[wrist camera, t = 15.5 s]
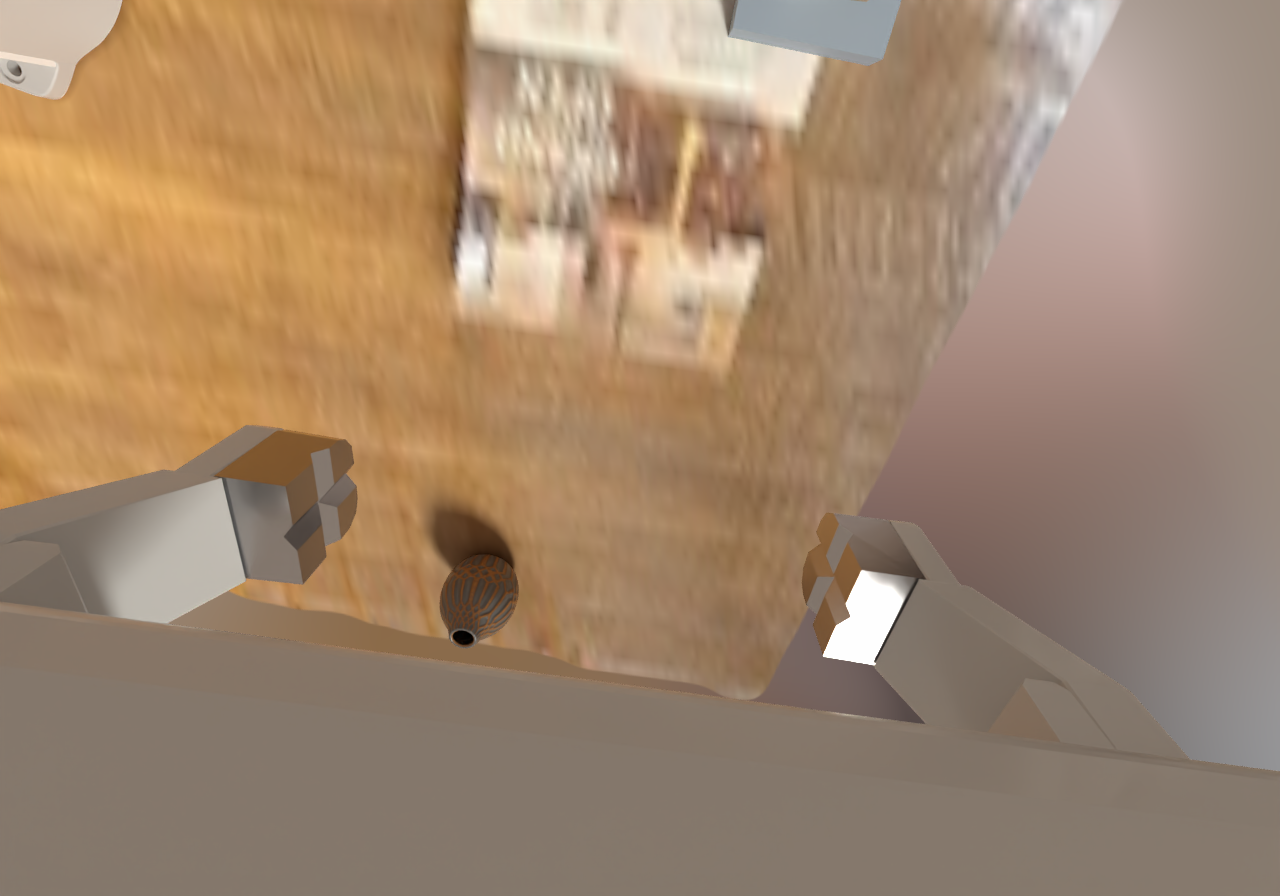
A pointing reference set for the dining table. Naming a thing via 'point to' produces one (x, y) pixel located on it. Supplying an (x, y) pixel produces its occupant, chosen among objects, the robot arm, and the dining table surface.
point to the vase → (478, 599)
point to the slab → (818, 26)
